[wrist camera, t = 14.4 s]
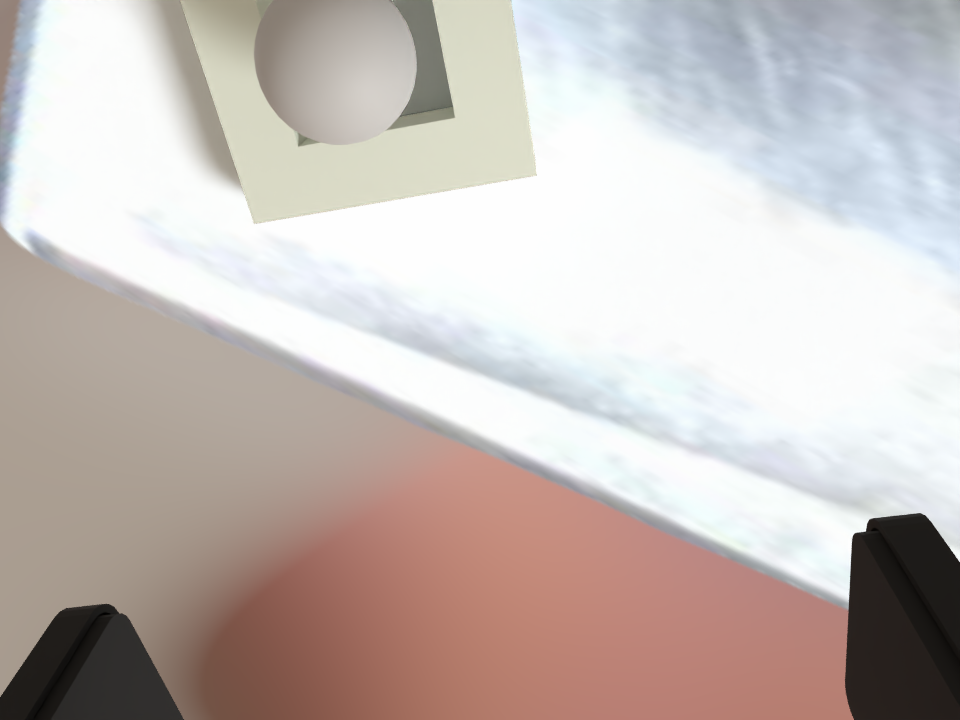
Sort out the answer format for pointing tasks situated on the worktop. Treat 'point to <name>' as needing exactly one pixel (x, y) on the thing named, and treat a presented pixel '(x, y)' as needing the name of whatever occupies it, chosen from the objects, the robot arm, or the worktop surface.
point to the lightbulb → (335, 66)
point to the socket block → (395, 152)
